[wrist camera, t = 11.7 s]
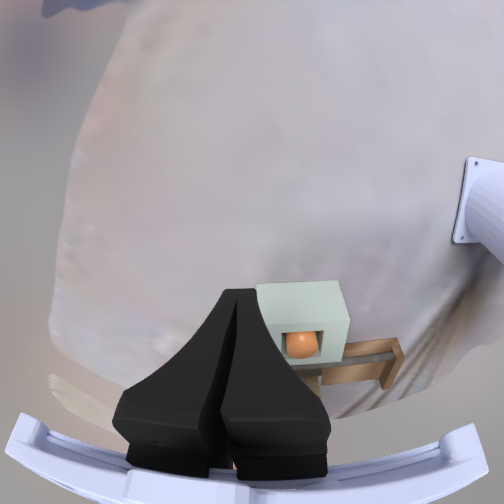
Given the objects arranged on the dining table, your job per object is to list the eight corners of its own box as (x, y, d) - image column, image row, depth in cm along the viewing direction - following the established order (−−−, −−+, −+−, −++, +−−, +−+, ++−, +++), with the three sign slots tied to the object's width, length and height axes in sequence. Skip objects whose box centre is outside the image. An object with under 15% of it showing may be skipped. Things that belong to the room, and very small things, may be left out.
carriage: (321, 368, 28) (327, 410, 24) (317, 385, 30) (322, 425, 25) (278, 370, 29) (279, 414, 24) (278, 388, 30) (278, 428, 26)
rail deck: (396, 337, 28) (404, 357, 25) (383, 369, 31) (389, 388, 28) (261, 348, 29) (260, 371, 26) (263, 380, 32) (263, 400, 29)
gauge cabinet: (337, 280, 24) (350, 319, 20) (331, 323, 27) (340, 363, 23) (256, 283, 25) (254, 325, 20) (259, 327, 27) (258, 367, 23)
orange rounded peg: (314, 311, 23) (319, 338, 20) (312, 331, 24) (316, 358, 22) (285, 313, 23) (286, 340, 21) (284, 333, 24) (286, 359, 22)
